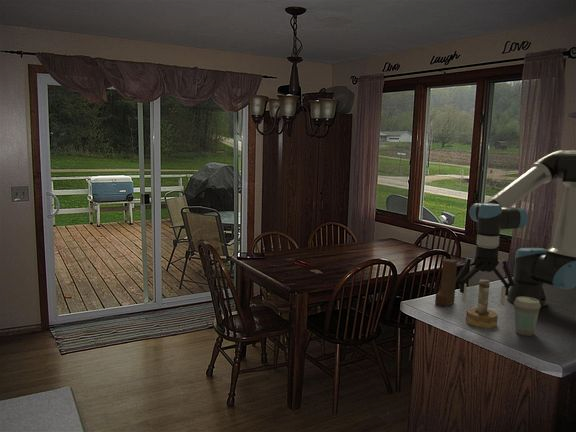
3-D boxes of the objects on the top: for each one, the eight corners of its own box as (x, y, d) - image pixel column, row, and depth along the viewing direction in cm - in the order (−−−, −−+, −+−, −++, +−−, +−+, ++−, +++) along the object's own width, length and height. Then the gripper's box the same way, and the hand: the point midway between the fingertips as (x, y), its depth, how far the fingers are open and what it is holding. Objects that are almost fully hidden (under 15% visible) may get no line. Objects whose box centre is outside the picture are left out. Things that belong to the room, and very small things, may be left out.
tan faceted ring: (491, 318, 182) (492, 308, 182) (499, 328, 173) (500, 317, 172) (464, 316, 184) (465, 306, 183) (470, 326, 174) (470, 315, 174)
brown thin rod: (470, 308, 194) (470, 307, 194) (473, 308, 194) (473, 307, 194) (476, 317, 183) (476, 316, 183) (480, 317, 183) (480, 316, 183)
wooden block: (445, 307, 195) (448, 264, 192) (434, 304, 198) (437, 262, 195) (454, 302, 201) (457, 260, 198) (444, 299, 204) (447, 258, 202)
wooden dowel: (485, 321, 180) (488, 279, 177) (487, 324, 176) (490, 282, 174) (475, 320, 180) (478, 279, 178) (477, 323, 177) (480, 281, 175)
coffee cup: (536, 339, 164) (540, 305, 162) (509, 333, 168) (512, 300, 166) (539, 331, 171) (542, 298, 169) (512, 326, 175) (515, 294, 174)
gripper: (520, 245, 176) (515, 301, 179) (449, 242, 180) (446, 297, 183) (527, 250, 168) (521, 308, 172) (453, 246, 172) (449, 303, 175)
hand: (482, 302), depth 177 cm, fingers open, 13 cm apart
